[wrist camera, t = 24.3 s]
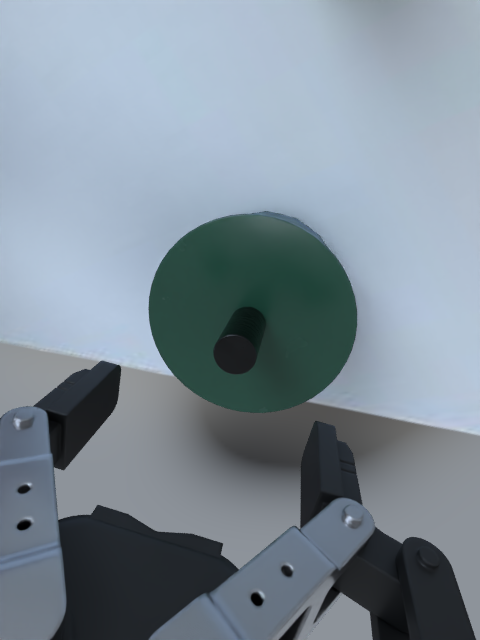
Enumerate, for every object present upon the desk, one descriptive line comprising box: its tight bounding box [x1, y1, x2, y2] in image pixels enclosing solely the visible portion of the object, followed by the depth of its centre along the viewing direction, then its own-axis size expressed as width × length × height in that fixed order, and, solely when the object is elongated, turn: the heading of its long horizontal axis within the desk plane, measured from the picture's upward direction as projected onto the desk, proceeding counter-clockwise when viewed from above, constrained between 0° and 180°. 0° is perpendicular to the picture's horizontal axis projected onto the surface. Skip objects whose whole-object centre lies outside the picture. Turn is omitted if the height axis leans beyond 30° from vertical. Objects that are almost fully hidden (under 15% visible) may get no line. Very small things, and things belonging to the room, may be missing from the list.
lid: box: [149, 214, 357, 413], centre depth 22 cm, size 13×13×6 cm
